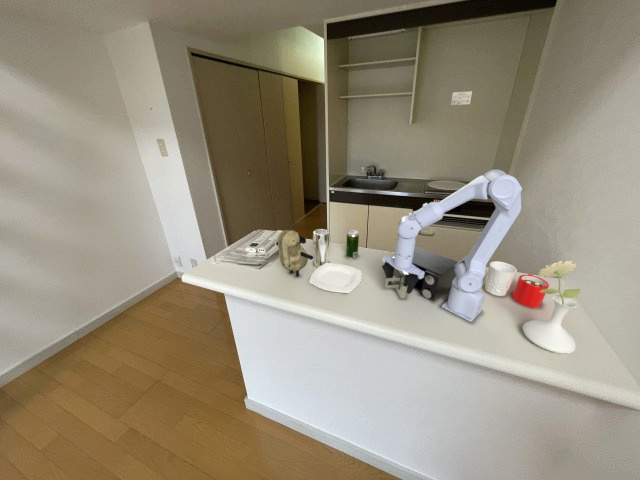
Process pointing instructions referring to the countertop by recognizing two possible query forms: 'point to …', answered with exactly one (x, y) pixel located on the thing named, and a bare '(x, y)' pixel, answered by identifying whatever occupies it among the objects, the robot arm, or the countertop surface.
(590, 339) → the countertop surface
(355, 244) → the beer can
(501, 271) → the white cup
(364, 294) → the countertop surface
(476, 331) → the countertop surface
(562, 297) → the flower in vase
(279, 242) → the figurine
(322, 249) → the silver metal tumbler
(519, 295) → the mug
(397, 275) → the microwave door
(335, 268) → the plate
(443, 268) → the microwave
